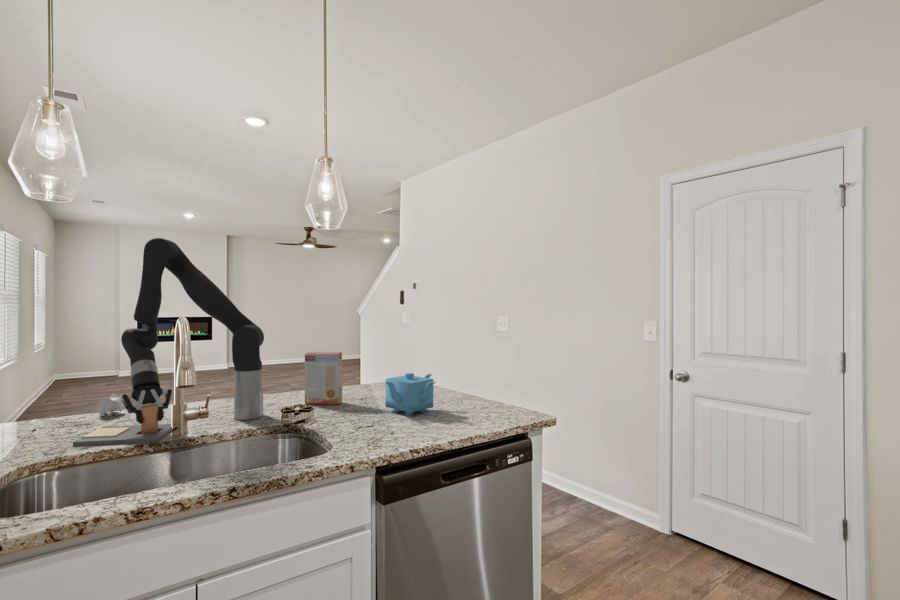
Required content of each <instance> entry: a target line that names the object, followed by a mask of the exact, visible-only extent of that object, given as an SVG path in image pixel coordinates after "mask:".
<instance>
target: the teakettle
mask: <svg viewBox="0 0 900 600" xmlns="http://www.w3.org/2000/svg"><path fill="white" fill-rule="evenodd" d="M431 376H433V373H428V374H425V376H423V377H422V376H419V375H418V376H417V375H415V373H413V372H408V373H404V375H400V376H393V377H389V378H385V381H384V384H385V408H389V409H393V410H392V411H391V412H392V413H394V414H398V413H400V412H405V416H406V417H413V416H414V413H417V412H419V413H426V412H427V409H431V408H434V384H436V383H437V382H436V381H434V378H430V377H431Z"/></svg>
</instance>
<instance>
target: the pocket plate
mask: <svg viewBox="0 0 900 600" xmlns="http://www.w3.org/2000/svg"><path fill="white" fill-rule="evenodd" d="M171 424H172V423H163V424H160V423H158V433H156V434H141V424H139V425H138V424H137V425H135V424H134V425H115V426H114V425H111V426H109V425H108V426H102V427H100V428H97V429H95V430H93V431H91V432H89V433H87V434H85V435H82V436H81V437H80V438H78V439H75V440H74V441H72V447H79V446H81V447H82V446H83V447H84V446H102V445H105V444H106V445H125V444H124V443H128V444H144V443H145V444H146V443H148V442H149V443H156V442H159V440H161V439H163V438H164V437H165V436H167V435H169V434H170V433H171V432H172V431H171V430H172V427H171Z"/></svg>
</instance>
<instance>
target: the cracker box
mask: <svg viewBox="0 0 900 600" xmlns="http://www.w3.org/2000/svg"><path fill="white" fill-rule="evenodd" d="M342 402H343V351H342V352H340V351H339V352H337V351H336V352H333V351H330V352H329V351H310V352H306V353H304V404H305V405H326V406H328V405H329V406H339V405H340V404H341V403H342Z"/></svg>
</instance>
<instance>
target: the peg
mask: <svg viewBox="0 0 900 600" xmlns="http://www.w3.org/2000/svg"><path fill="white" fill-rule="evenodd" d="M141 411H142V418H143V422H142V424H140V425H141V434H156V433H158V424H159V421H158V405H153V404H148V405H147V404H146V405H142V407H141Z"/></svg>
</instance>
